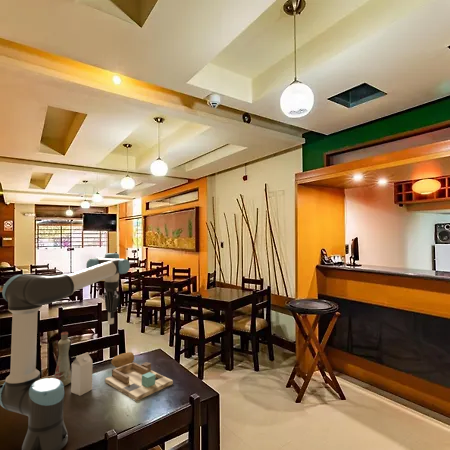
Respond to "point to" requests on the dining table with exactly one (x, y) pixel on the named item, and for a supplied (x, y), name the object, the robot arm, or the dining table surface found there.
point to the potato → (122, 359)
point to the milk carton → (81, 374)
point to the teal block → (148, 379)
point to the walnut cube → (147, 365)
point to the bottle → (63, 360)
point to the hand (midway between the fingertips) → (110, 323)
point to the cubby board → (135, 381)
